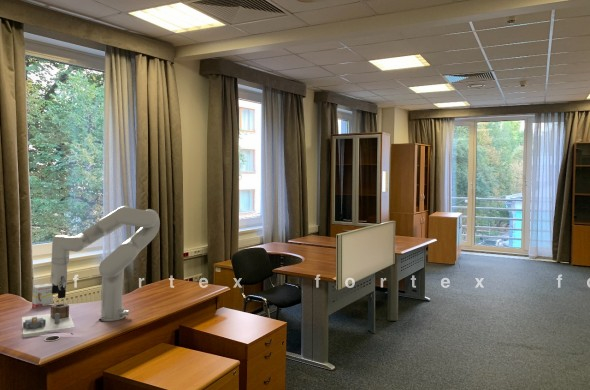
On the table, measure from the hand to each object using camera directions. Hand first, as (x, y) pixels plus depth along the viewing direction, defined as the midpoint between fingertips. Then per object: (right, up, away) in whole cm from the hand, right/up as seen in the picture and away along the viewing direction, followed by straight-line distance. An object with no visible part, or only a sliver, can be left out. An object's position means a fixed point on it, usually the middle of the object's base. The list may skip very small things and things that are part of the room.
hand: (58, 295), depth 210 cm
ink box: (-19, -11, +19) cm, 29 cm away
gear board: (-1, -12, -7) cm, 14 cm away
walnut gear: (0, -10, +1) cm, 10 cm away
